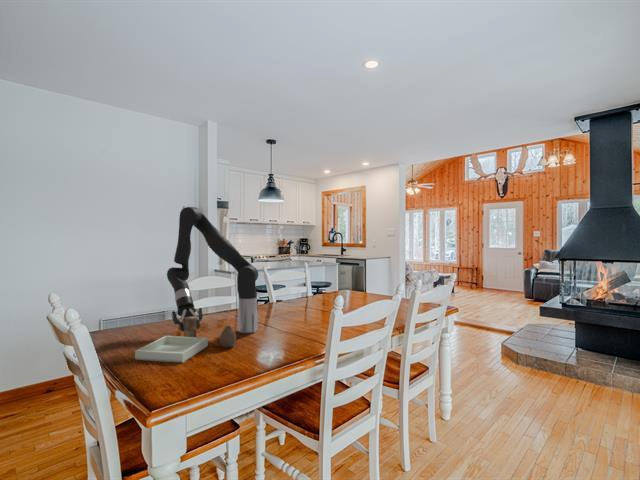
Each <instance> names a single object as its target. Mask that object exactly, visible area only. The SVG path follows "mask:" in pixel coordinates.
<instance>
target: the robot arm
mask: <svg viewBox="0 0 640 480" xmlns="http://www.w3.org/2000/svg"><path fill="white" fill-rule="evenodd" d="M178 224H179V225H178V237H177V244H176V250H175V253H174V260H173V261H174V263H175V264H178V265H181V267H170V268H168V269H167V271H166V272H167V273H166V277H167V280H168V282H169V284H170V285H171V287H172V288H173V292H174V297H175V298H174V300H175V304H176V308H177V311H175V310H173V311H171V318H172V321H173V324H174V325H175V326H176V325H178V326H179V331H180V332H181V333H182V332H183V331H184V325H183V318H184V317H190V316H194V317H196V330H199V329H200V328H201V322H202V321H203V318H204V317H203V309H202V308H201V307H199V308H195V304H194V301H193V296H192V293H191V291H190V286H189V283H188V282H187V281H188V279H189V278H190V269H189V267H190V265H189V261H190V255H191V251H192V242H191V234H192V230H193V227H195V228H196V229H197V230H198V231H199V232H200V233H201V234H202V236H203V238H204V240H205V242H206V244H207V246H208V247H209V248H210V249H211V251H213V253H214V254H215V255H217V257H219V258H220V259H221V260H223V261H224V262H226V263H227V264H228V265H231V267H232V268H234V269H235V271H236V272H237V276H236V286H237V287H236V288H237V289H236V290H237V294H238V299H237V301H238V302H237V303H238V304H237V305H238V313H237V315H238V316H237V317H238V318H237V319H238V320H237V324H238V325H237V326H238V327H237V328H238V329H237V332H239V334H240V333H241V334H254V333H256V332H257V331H258V330H259V311H257V309H258V304H257V303H258V293H257V290H256V289H257V288H256V281H257V280H258V278H259V272H258V269H257V268H256V267H255V266H254V265H252V263H251V262H249V261H248V260H247V259H246V258H245V257H244V256H242V254H241V253H240V252H239V251H238V249H236V247H235V246H234V245H233V243H231V242H230V241H229V240H228V239H227V237H226V236H225V235H223V233H222V232H221V231H220V230H218V228H216V227H215V225H213V224H212V223H211V221H210V220H209V219H208V217H206V215H205V214H204V212H203V210H201V209H200V208H198V207H195V206H186V207H184V208H182V209H181V210H180V212H179V220H178ZM197 315H198V316H197ZM178 316H179V317H180V319H179V320H178Z"/></svg>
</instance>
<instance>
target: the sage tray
mask: <svg viewBox="0 0 640 480" xmlns="http://www.w3.org/2000/svg"><path fill="white" fill-rule="evenodd" d="M208 341H209V338H208V337H197V336H196V337H183V336H178V335H176V336H175V335H164V336H163V337H160V338H158V339H156V340H154V341H152V342H150V343H148V344H146V345H144V346H141V347H139V348H138V349H136V350H134V353H135V354H134V360H137V361H150V362H152V361H153V362H163V363H164V362H165V363H166V362H167V363H180V364H182V363H185V362H186V361H188V360H190V359H191V358H192V357H194V356H195V355H196V354H199V352H201V351H203V350H204V349H205V348H207V347H209V345H208V344H209V342H208Z"/></svg>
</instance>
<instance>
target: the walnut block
mask: <svg viewBox="0 0 640 480" xmlns="http://www.w3.org/2000/svg"><path fill="white" fill-rule="evenodd" d="M182 322H183V325H184V331H183V336H182V337H197V328H196V317H194V316H190V317H184V318H183V321H182Z"/></svg>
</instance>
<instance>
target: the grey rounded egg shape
mask: <svg viewBox="0 0 640 480" xmlns="http://www.w3.org/2000/svg"><path fill="white" fill-rule="evenodd" d="M236 341H237V335H236V332H235V330H234V329H233V328H232V326H231V325H226V326H225V327H224V329H223V330H222V332H221V333H220V336H219V343H220V345H221V347H223V348H226V349H229V348H232V347H233V346H234V345H235V344H236Z"/></svg>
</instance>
